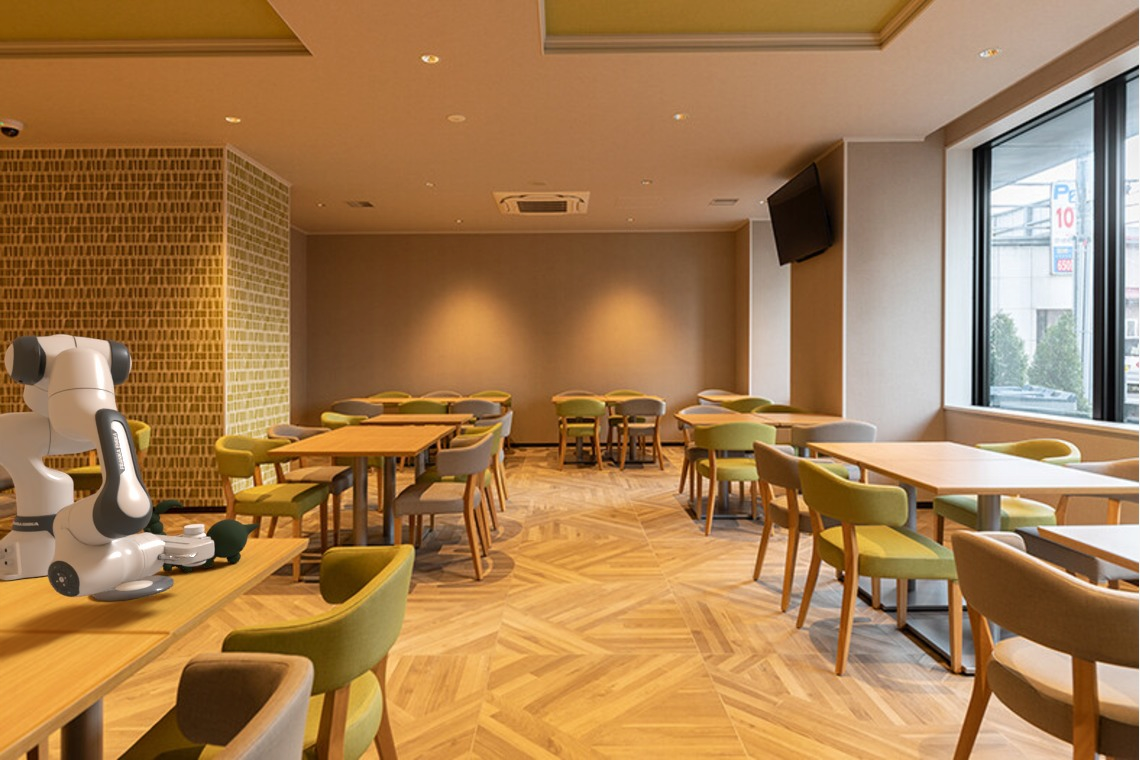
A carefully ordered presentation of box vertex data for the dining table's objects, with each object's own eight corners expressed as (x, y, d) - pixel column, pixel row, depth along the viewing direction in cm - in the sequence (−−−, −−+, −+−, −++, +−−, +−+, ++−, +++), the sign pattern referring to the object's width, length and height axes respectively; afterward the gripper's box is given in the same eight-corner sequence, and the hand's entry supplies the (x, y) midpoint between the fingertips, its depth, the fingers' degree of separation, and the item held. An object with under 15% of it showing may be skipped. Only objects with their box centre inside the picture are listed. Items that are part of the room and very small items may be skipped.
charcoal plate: (75, 597, 144) (75, 593, 144) (138, 576, 158) (138, 572, 158) (129, 604, 139) (129, 599, 139) (189, 581, 154) (189, 578, 154)
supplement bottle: (195, 567, 145) (194, 528, 144) (176, 566, 146) (176, 527, 145) (211, 561, 149) (211, 523, 149) (193, 560, 150) (192, 522, 150)
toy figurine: (152, 588, 155) (267, 559, 169) (141, 508, 153) (258, 486, 168) (148, 578, 162) (258, 551, 177) (138, 501, 161) (250, 481, 176)
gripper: (181, 544, 132) (235, 528, 145) (103, 536, 138) (161, 521, 151) (181, 576, 132) (235, 557, 145) (103, 566, 138) (161, 549, 151)
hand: (197, 539), depth 148 cm, fingers closed on supplement bottle, 5 cm apart
